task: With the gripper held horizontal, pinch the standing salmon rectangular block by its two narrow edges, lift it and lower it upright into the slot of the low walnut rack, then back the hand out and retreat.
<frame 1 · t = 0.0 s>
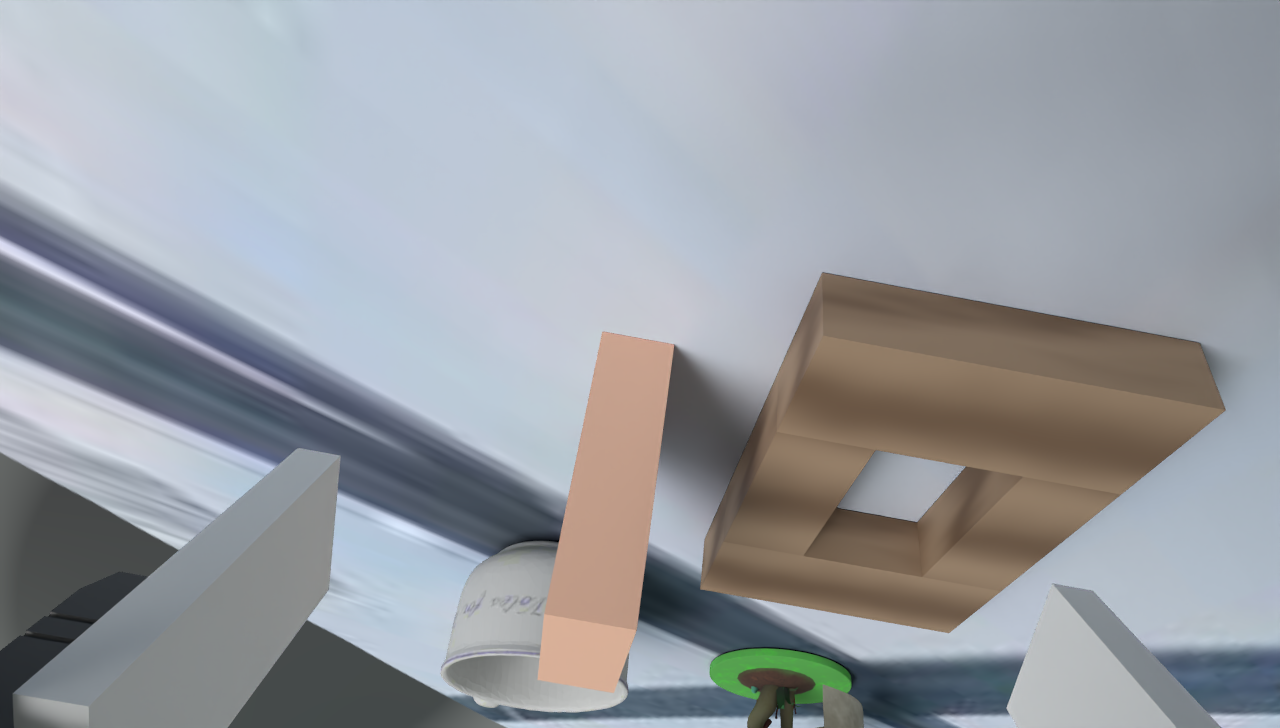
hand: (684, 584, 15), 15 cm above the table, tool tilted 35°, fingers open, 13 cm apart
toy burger: (782, 672, 63), on the table
slotted rack: (896, 463, 38), on the table
salmon rectangular block: (628, 387, 36), on the table
teacup: (544, 565, 53), on the table
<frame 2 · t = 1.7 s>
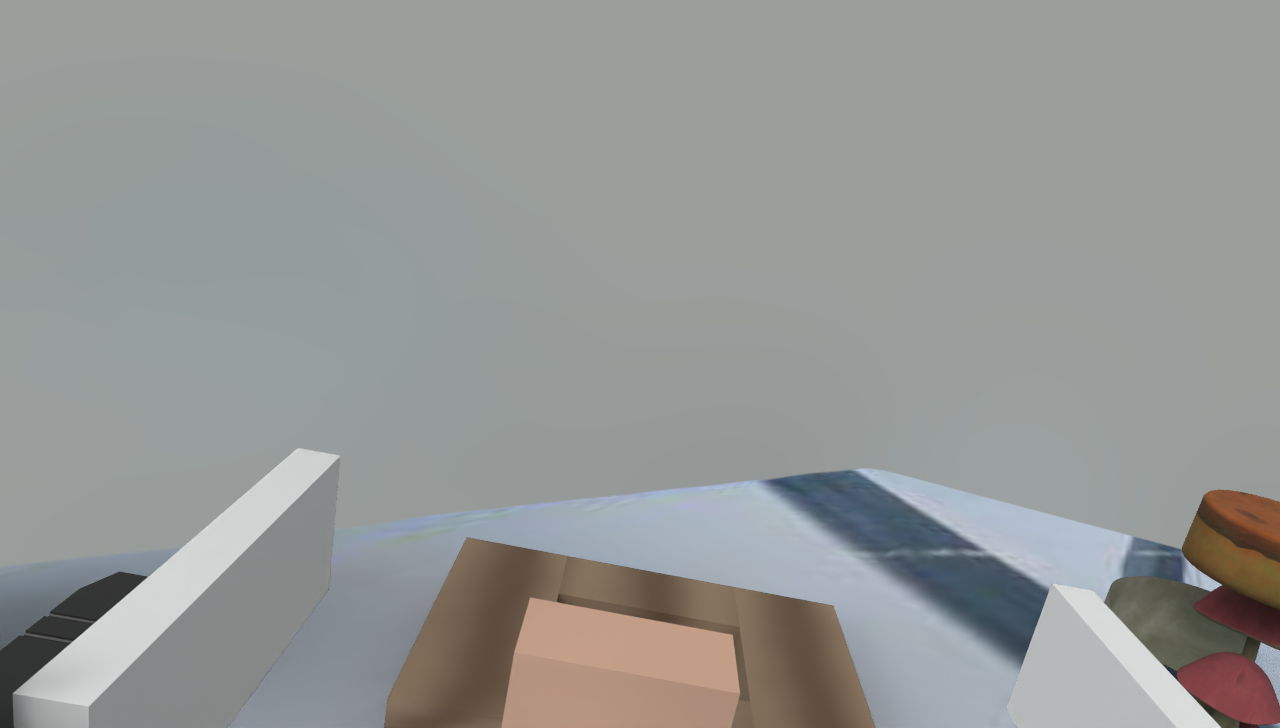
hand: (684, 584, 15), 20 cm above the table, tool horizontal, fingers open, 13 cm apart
slotted rack: (637, 693, 42), on the table
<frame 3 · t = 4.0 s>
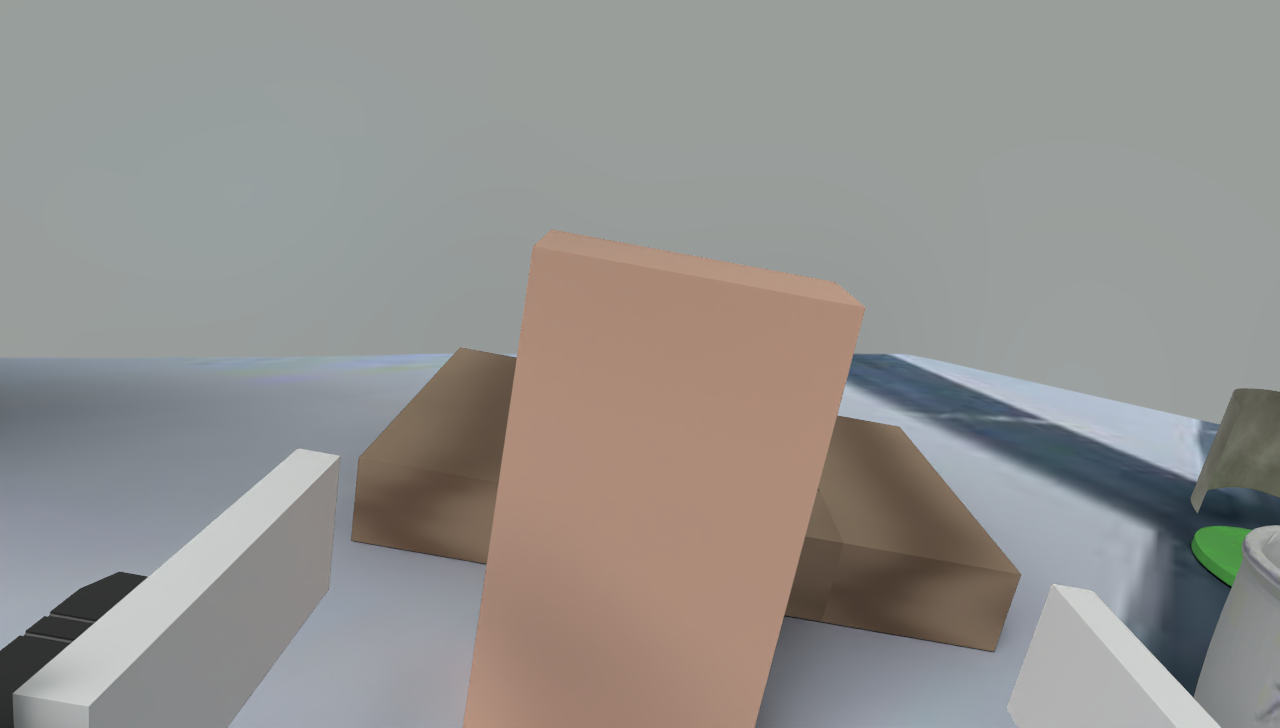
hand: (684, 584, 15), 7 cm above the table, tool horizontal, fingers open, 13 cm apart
slotted rack: (672, 505, 34), on the table
salmon rectangular block: (606, 709, 22), on the table
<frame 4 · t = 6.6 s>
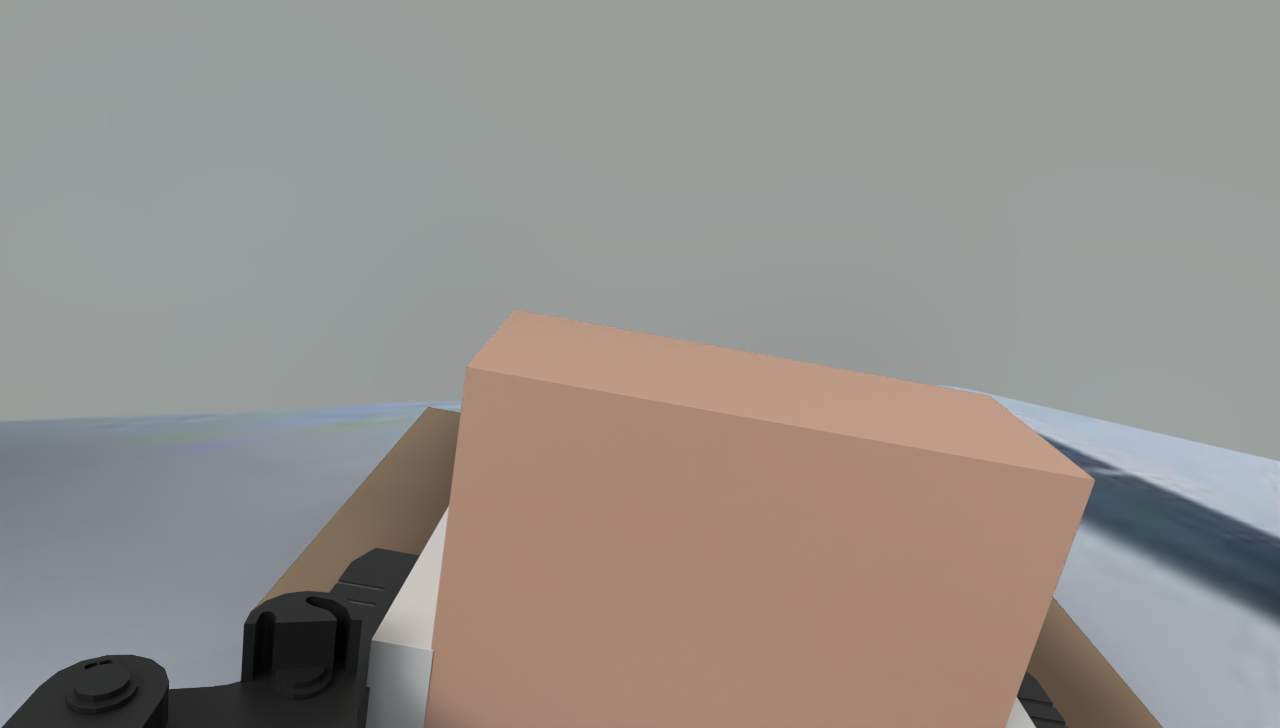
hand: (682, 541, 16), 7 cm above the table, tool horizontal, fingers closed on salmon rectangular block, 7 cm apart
slotted rack: (696, 625, 26), on the table
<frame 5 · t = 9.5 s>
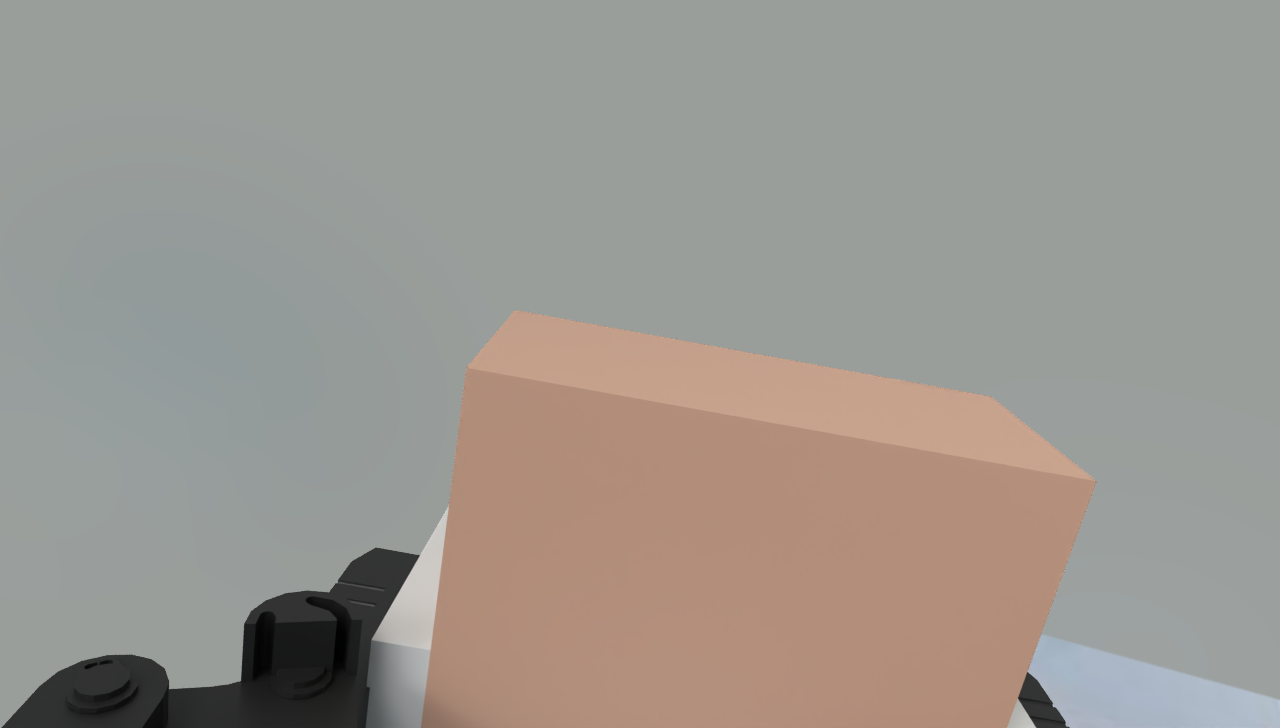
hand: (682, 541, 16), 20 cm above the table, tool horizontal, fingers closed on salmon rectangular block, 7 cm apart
when the fingers open (8 cm above the table, at t = 12.8 s): salmon rectangular block drops 1 cm, resting in slotted rack.
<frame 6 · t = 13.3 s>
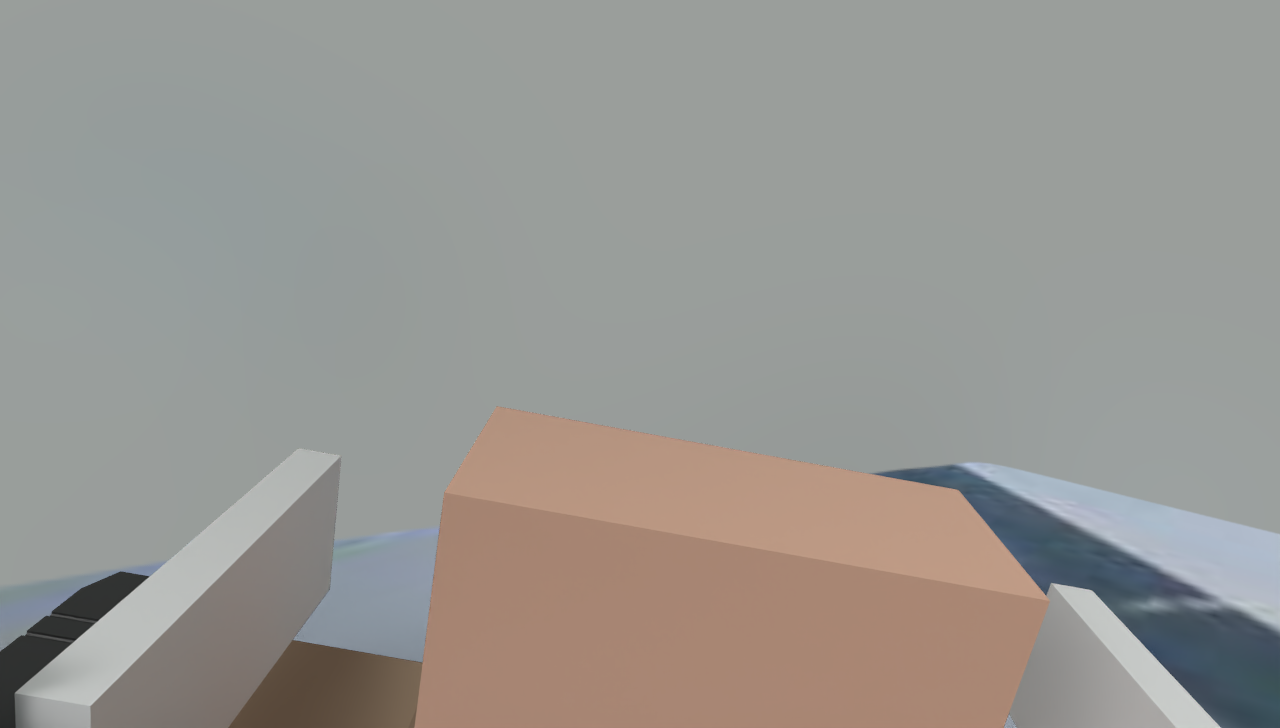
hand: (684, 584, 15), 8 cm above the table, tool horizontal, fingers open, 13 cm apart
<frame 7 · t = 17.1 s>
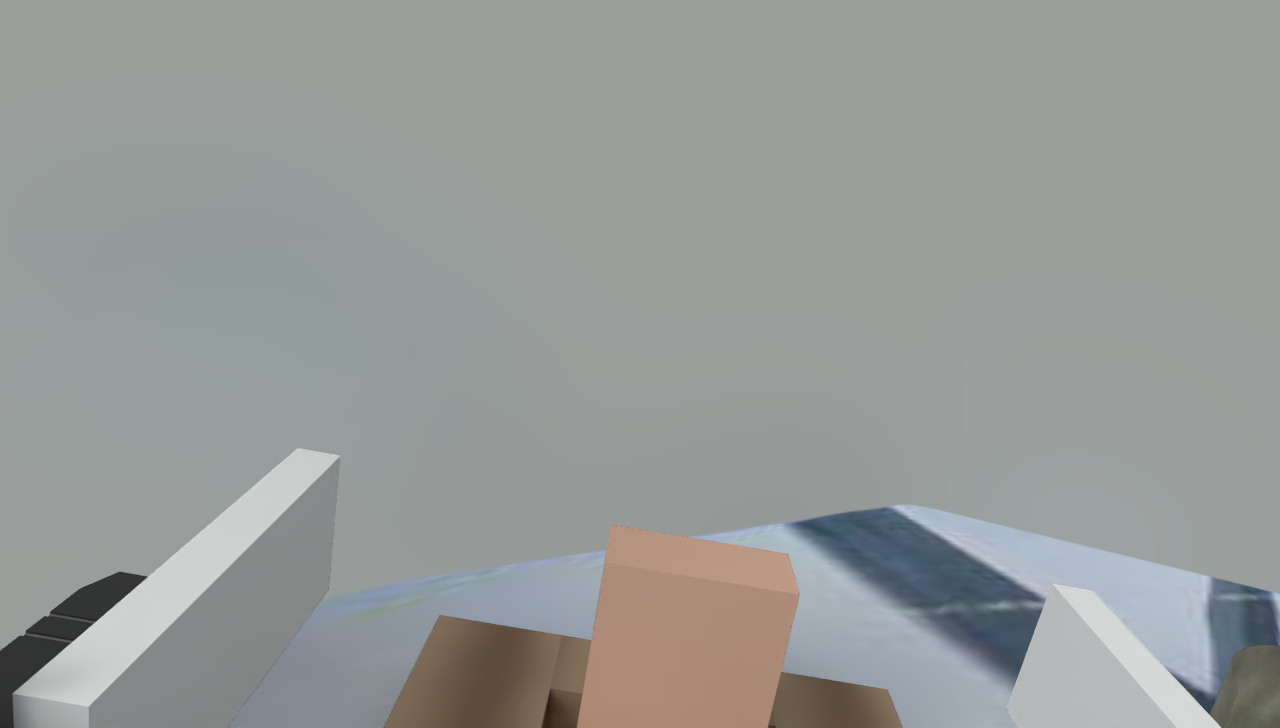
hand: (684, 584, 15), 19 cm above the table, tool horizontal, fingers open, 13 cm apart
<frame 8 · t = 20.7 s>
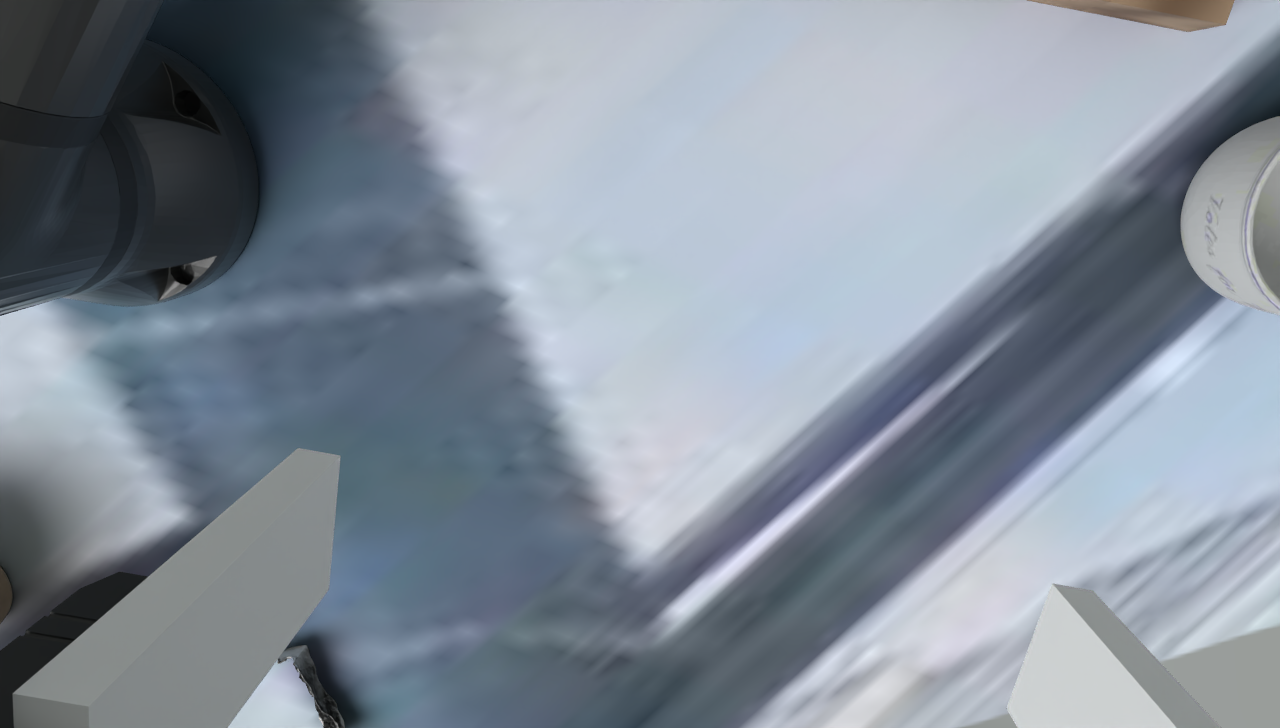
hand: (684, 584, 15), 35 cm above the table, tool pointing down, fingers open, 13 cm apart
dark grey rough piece: (258, 709, 58), on the table
teacup: (1263, 224, 47), on the table
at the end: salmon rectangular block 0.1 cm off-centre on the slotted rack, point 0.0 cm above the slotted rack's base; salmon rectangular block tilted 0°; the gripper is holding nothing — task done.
